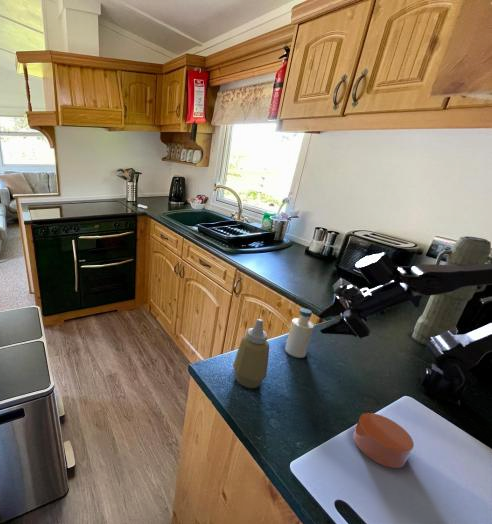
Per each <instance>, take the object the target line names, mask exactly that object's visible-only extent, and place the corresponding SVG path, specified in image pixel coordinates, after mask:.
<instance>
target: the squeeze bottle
mask: <svg viewBox="0 0 492 524" xmlns="http://www.w3.org/2000/svg"><path fill="white" fill-rule="evenodd" d="M269 355H270V343H269V341H268V334H267V332H266V331H264V321H263V319H262V318H257V319H256V321H255V323H254V325H253V327H250V328H248V329H247V330H246V334H244V335H243V336H241V340H240V343H239V346H238V349H237V353H236V355H235V359H234V361H233V365H232V366H233V371H234V376H235V379H236V381H237V383H238V384H239V385H241V386H242V387H245V388H248V389H257V388H258V387H259V386H260V385H261V384H262V383H263V381H264V380H265V379H266V377H267V374H268V366H269V365H268V364H269Z"/></svg>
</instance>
